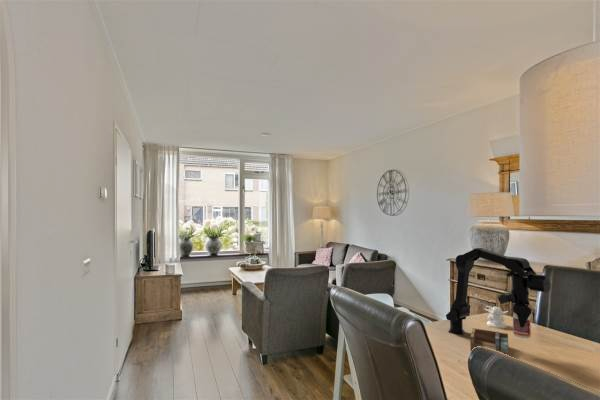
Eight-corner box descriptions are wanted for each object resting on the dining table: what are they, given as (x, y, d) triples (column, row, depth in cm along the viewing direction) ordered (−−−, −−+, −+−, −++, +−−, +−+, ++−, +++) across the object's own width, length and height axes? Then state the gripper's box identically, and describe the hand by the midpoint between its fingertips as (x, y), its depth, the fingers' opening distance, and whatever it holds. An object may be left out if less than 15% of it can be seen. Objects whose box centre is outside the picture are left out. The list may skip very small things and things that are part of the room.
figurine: (512, 326, 174) (511, 306, 174) (504, 330, 168) (503, 309, 169) (488, 320, 183) (488, 301, 184) (480, 324, 178) (479, 304, 179)
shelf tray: (472, 340, 155) (472, 327, 155) (508, 346, 147) (507, 332, 148) (470, 350, 144) (470, 335, 144) (508, 357, 136) (508, 342, 137)
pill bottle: (533, 339, 136) (532, 312, 136) (516, 338, 137) (516, 311, 138) (526, 334, 142) (526, 308, 142) (510, 333, 143) (510, 307, 144)
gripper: (498, 282, 153) (499, 316, 152) (497, 290, 137) (499, 328, 136) (527, 284, 147) (528, 320, 146) (530, 293, 131) (532, 333, 130)
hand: (521, 325), depth 140 cm, fingers closed on pill bottle, 6 cm apart
